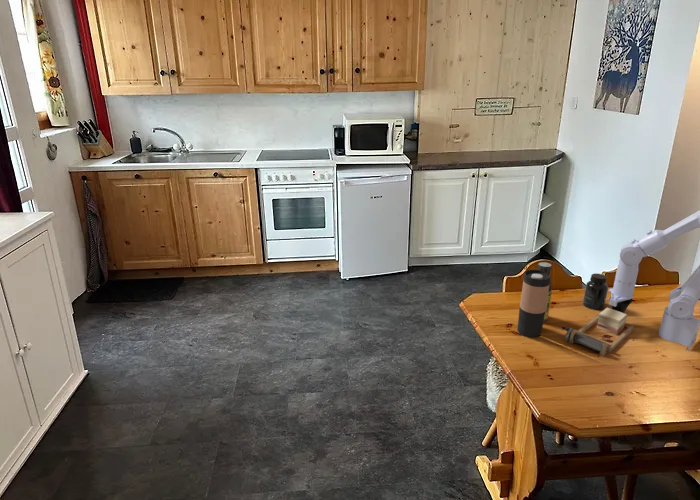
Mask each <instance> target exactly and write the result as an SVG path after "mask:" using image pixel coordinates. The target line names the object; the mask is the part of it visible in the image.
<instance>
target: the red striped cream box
mask: <svg viewBox="0 0 700 500" xmlns="http://www.w3.org/2000/svg"><path fill="white" fill-rule="evenodd" d="M598 314H599V318H598V321H597V322H596V328H597V329H599V330H602V331H605V332H607V333H609V334H613V335H615V336H616V335H618V334H619V333H620V332H622V330H624V329H625V325H626V320H627V317H628V313H625V312H624V313H622V312H619V311H616V310H613V309H612V308H610V307H606V308H604V309H602V310H601V312H600V313H598Z"/></svg>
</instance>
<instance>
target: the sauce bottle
mask: <svg viewBox="0 0 700 500" xmlns="http://www.w3.org/2000/svg"><path fill="white" fill-rule="evenodd" d="M552 267H553V266H552V264H551V263H550V262H542V261H541V262H538V264H537V270H541V271H544V272H545V273H546V274H547V275H550V276H551V270H552ZM552 293H553V286H552V281H551V280H550V285H549V292H548V298H547V305H546V312H545V317H544V322H543V323H546V322H547V321H548V318H549V313H550V307H551V300H552Z"/></svg>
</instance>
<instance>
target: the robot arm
mask: <svg viewBox="0 0 700 500" xmlns="http://www.w3.org/2000/svg"><path fill="white" fill-rule="evenodd" d="M698 228H700V210H698V211H696V212H694V213H692V214H691V215H689V216H687V217H685V218H684V219H682V220H680V221H678V222H676V223H674V224H673V225H671V226H669V227H668V228H666V229H664V230H662V229H655V230H651V229H650V230H648V231H646V234H645V235H642V236H641V237H639V238H638V239H635V238H634V239H632V240H631V242H627V243H625V244H624V245H623V246H622V247H621V249H620V253H619V261H618V264H617V268H616V272H615V276H614V282H613V287H612V288H611V287H610V288H608V292H607V293H611V295H610V297H609V299H608V301H609V302H608V305H609V306H610V307H611V309H613V310H616V311H619V312H622V313H625V312H626V311H627V309H628V307H629V306H630V305H631V303H632V302H633V301H634V299H633V298H634V291H635V289H636V288H635V287H636V284H637V279H638V278H637V277H638V274H639V269H640V268H639V264H640V263H641V261H642V259H643V258H647V257H649V256H651V255H652V254H656V253H657V252H658V251H661V250H663V249H665V248H667V247H668V246H669V244H670V241H671V240H674V239H677V238H678V237H681V236H682V235H685V234H687V233H690V232H691V231H694V230H696V229H698ZM668 300H669V302H668V305H667V306H666V307H664V310H663V314H662V319H661V323H660V326H659V330H658V336H659V337H660V338H662V340H665V341H667V342H671V343H675V344H678V345H683V346H685V347H686V348H685V350H686V351H690V349H691V348H692V347H693V345H694V344H695V343H696V341H697V336H698V333H699V329H700V319H699V318H698V317H695V316H694V312H695V306H696V305H697V303H698V302H699V300H700V264H699V265H698V266H697V267H696V268H695V270H693V272H692V274H691V275H690V276H689V277H688V278H687V280H686V281H683V282H682V283H681V284H680V286H678V287H676V288H674V289H672V290H671V291H670V292H669V295H668Z"/></svg>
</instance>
